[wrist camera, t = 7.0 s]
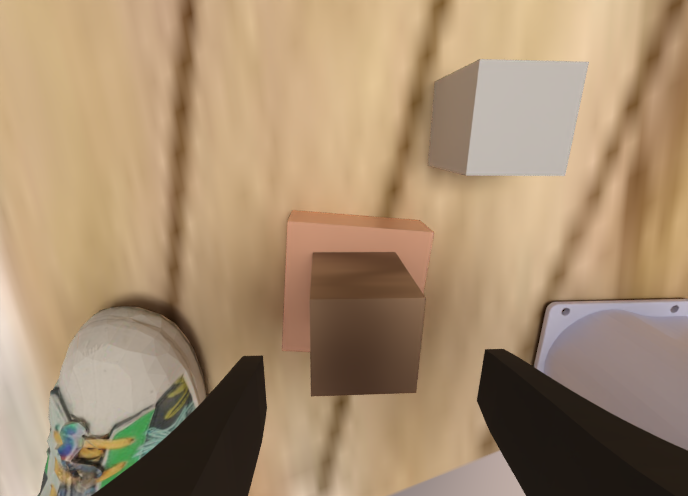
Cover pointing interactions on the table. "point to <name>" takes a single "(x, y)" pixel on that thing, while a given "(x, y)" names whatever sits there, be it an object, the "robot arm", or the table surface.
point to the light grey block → (506, 117)
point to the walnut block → (364, 324)
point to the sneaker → (117, 397)
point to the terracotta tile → (342, 236)
